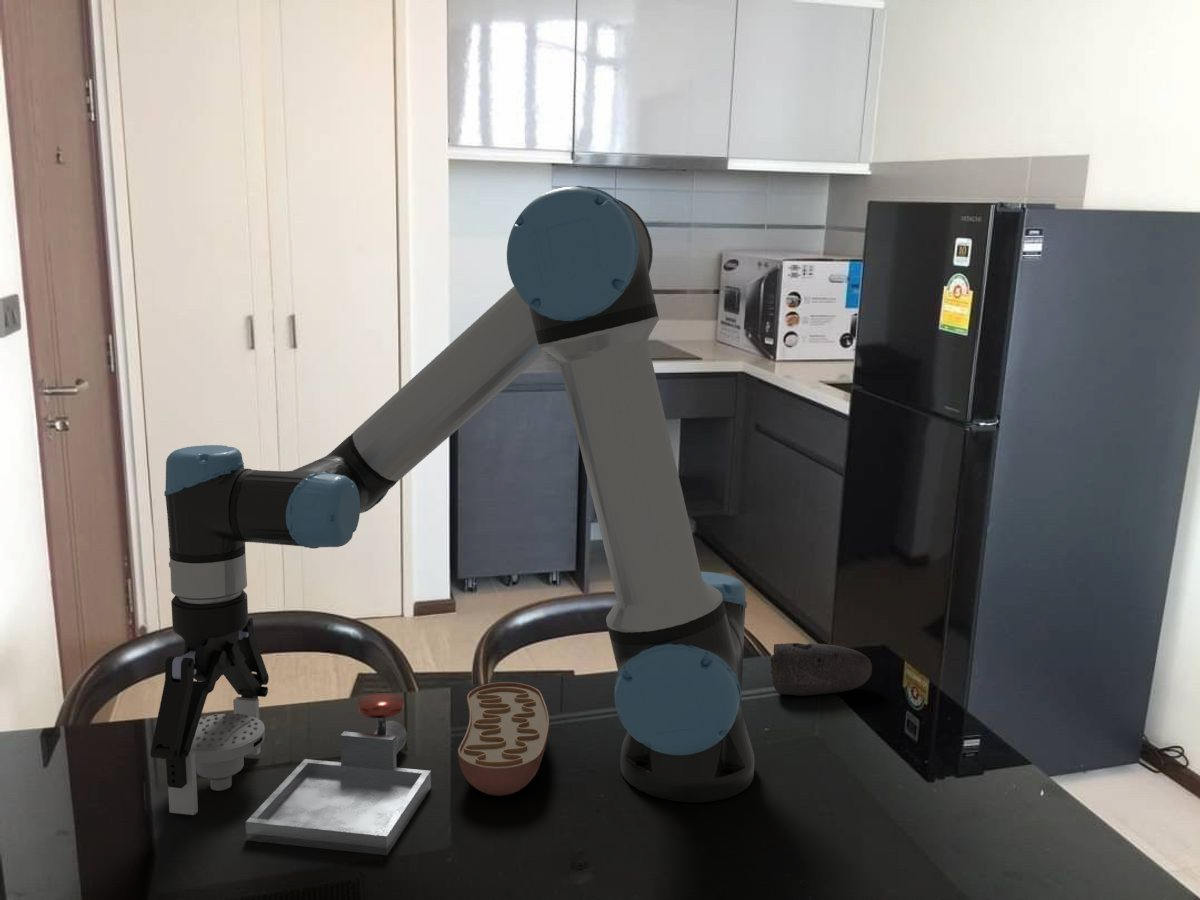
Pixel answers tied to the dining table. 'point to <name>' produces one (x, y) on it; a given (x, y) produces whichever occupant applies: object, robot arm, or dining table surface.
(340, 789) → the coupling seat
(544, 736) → the anatomical model
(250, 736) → the showerhead
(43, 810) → the dining table surface
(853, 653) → the perforated stone tool
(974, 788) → the dining table surface
